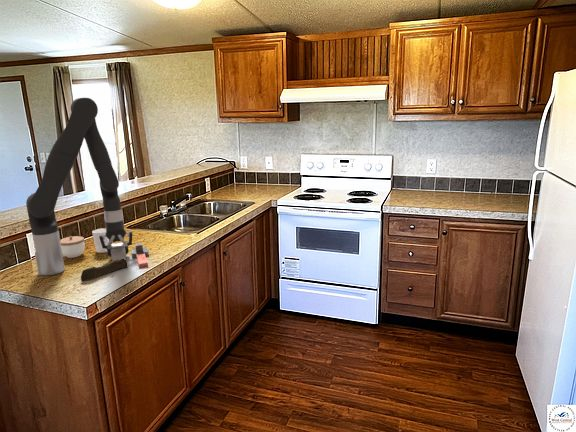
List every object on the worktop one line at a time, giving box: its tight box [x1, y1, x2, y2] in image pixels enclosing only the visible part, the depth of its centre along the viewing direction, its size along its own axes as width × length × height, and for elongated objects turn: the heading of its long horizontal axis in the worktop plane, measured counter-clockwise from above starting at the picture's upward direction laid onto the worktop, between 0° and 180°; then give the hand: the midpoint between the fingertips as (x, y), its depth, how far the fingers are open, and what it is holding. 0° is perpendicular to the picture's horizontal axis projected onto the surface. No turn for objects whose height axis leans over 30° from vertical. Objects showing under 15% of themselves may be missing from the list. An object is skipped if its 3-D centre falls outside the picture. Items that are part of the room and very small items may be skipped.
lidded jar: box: [60, 235, 86, 259], centre depth 184 cm, size 11×11×9 cm
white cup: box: [91, 227, 109, 254], centre depth 190 cm, size 8×8×10 cm
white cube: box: [110, 242, 127, 262], centre depth 181 cm, size 6×6×6 cm
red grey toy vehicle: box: [130, 242, 149, 269], centre depth 178 cm, size 7×21×5 cm, turn 25°
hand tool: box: [80, 259, 129, 282], centre depth 163 cm, size 19×4×5 cm, turn 140°
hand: (118, 255), depth 181 cm, fingers closed on white cube, 6 cm apart
